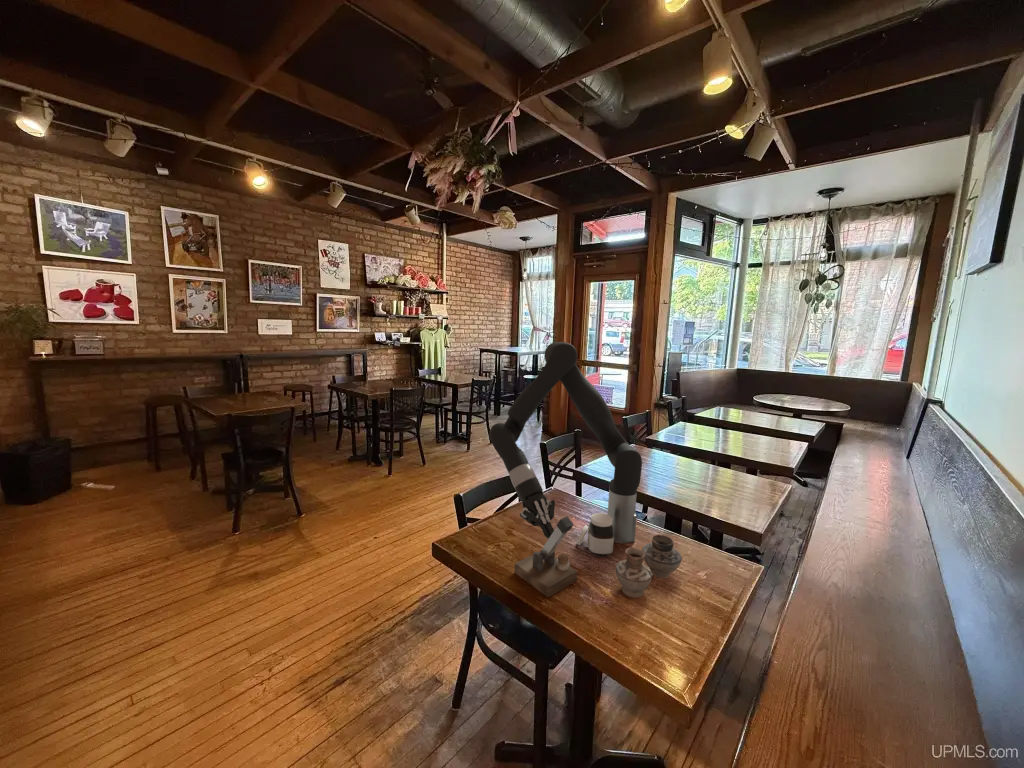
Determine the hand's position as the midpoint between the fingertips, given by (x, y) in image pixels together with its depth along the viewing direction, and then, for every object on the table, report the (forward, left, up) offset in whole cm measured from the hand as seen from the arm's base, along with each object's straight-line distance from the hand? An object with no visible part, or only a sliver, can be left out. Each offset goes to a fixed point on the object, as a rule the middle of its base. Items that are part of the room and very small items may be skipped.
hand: (551, 536), depth 117 cm
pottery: (-29, -3, -14) cm, 32 cm away
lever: (+2, -2, -7) cm, 8 cm away
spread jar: (-15, -18, -14) cm, 27 cm away
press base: (+2, -2, -13) cm, 14 cm away
